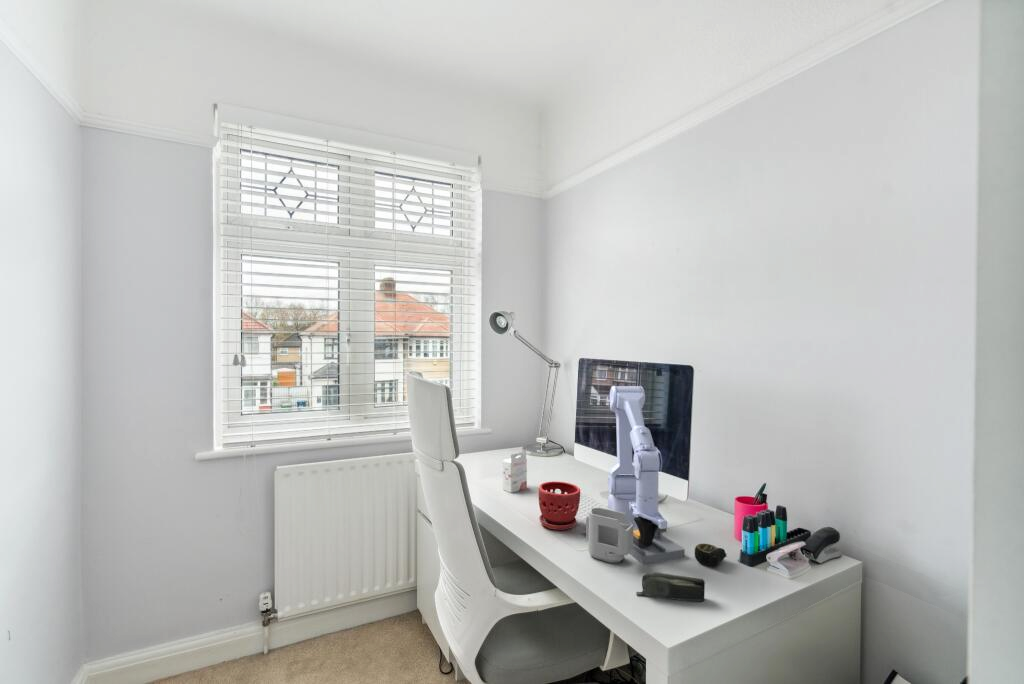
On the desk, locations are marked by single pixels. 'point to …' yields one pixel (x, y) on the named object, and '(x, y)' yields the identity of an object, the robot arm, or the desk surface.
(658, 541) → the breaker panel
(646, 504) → the robot arm
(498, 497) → the desk surface
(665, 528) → the on rocker
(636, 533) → the block
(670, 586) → the dark elongated piece
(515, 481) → the ink cartridge box
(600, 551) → the grey piece
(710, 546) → the tape measure
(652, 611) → the desk surface
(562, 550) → the desk surface
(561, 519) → the plant pot
